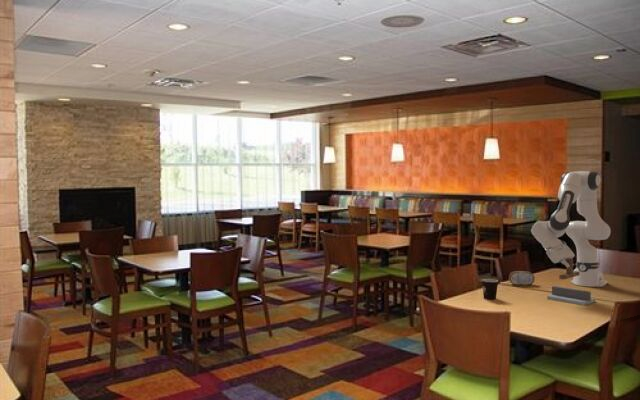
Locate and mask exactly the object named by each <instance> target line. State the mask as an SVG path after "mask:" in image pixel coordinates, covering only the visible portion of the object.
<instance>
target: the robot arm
mask: <svg viewBox="0 0 640 400" xmlns="http://www.w3.org/2000/svg"><path fill="white" fill-rule="evenodd" d="M601 181H602V180H601V175H600V174H599V172H597V171H592V170H591V171H589V170H588V171H587V170H578V171H567V172H564V173H563V174H562V175H561V176H560V184H559V185H560V186H559V188H558V192H557V198H558V200H559V204H558V206H557V209H556V210H555V211H554V212H553V213H552V214H551V215H550V218H549V220H547V221H542V220H538V221H536V222H535V223H534V224H533V225H532V227H531V229H530V232H531V234H532V236H533V237H534V239H536V241H538V242H539V243H540V244H541V246H542V248H544V250H545V252H546V255H547V257H548V258H549V259H550V261H551V262H552V263H553V264H557V263H561V264H562V265H564V266H565V267H567V268H568V267H570V266H571V265H570V264H569V263H567V258H571V259H574V257H576V260H575V261H576V262H575V264H574V263H573V267H574V266H575V269H574V268H573V271H578V272H580V273H579V276H575V277H572V280H570V283H573V284H574V285H576V286H580V287H595V288H596V287H599V288H601V287H603V288H604V286H606V285H607V284H608V281H607V280H604V274H603V272H602V271H601V269H600V268H599V266H600V261H598V250H597V248H596V247H595V246H594V245H592V244H591V243H590V242H589V240H593V241H602V240H608V238H609V237H610V235H611V231H612V230H611V227H610V225H609V224H608V223H607V222H605V221H604V220H603V219H602V217H601V216H600V214H599V211H598V195H597V194H598V193H597V189H598V188H599V187H600V185H601ZM575 203H576V211H577V213H578V215H580V216H582V217H583V218H584V219H585V220H584V221H583V220H572V221H571V217H570V211H571V207H572V206H573V205H572V204H575ZM564 234H566V235H567V236H568V237H569V238H570V239H571V240H572V241H573V243H574V245H575V248H576V256H575V253H574V251H572V249H571V248H570V247H569V246H568V245H567V243H566V242H565V241H564V240H561V239H559V238H560V237H563V236H564Z"/></svg>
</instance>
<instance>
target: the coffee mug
mask: <svg viewBox="0 0 640 400" xmlns="http://www.w3.org/2000/svg"><path fill="white" fill-rule="evenodd" d="M498 283H499V280H498V279H493V278H483V279H482V280H481V286H482V294H483V299H484V300H488V301H489V300H490V301H494V300H495V301H496V300H497V295H498V294H497V293H498V287H499V286H498Z"/></svg>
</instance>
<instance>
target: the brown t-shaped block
mask: <svg viewBox="0 0 640 400" xmlns="http://www.w3.org/2000/svg"><path fill="white" fill-rule="evenodd" d="M566 262H567V263H569V264H570V265H571V266H570V267H568V268H567V267H566V266H565V267H566V273H563V274H559V277H558V279H559V280H567V279H570V278H573V277H575V276H579V273H580V272H578V271H574V266H573V264H574V258H572V259H571V258H567V261H566Z"/></svg>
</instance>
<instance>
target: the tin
mask: <svg viewBox="0 0 640 400" xmlns="http://www.w3.org/2000/svg"><path fill="white" fill-rule="evenodd" d="M508 281H509V282H510V283H511V284H512V285H515V286H531V285H533V283H534V282H535V276H534V274H533V273H532V272H531V271H527V270H525V271H524V270H522V271H521V270H515V271H511V272H510V273H509V275H508Z"/></svg>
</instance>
